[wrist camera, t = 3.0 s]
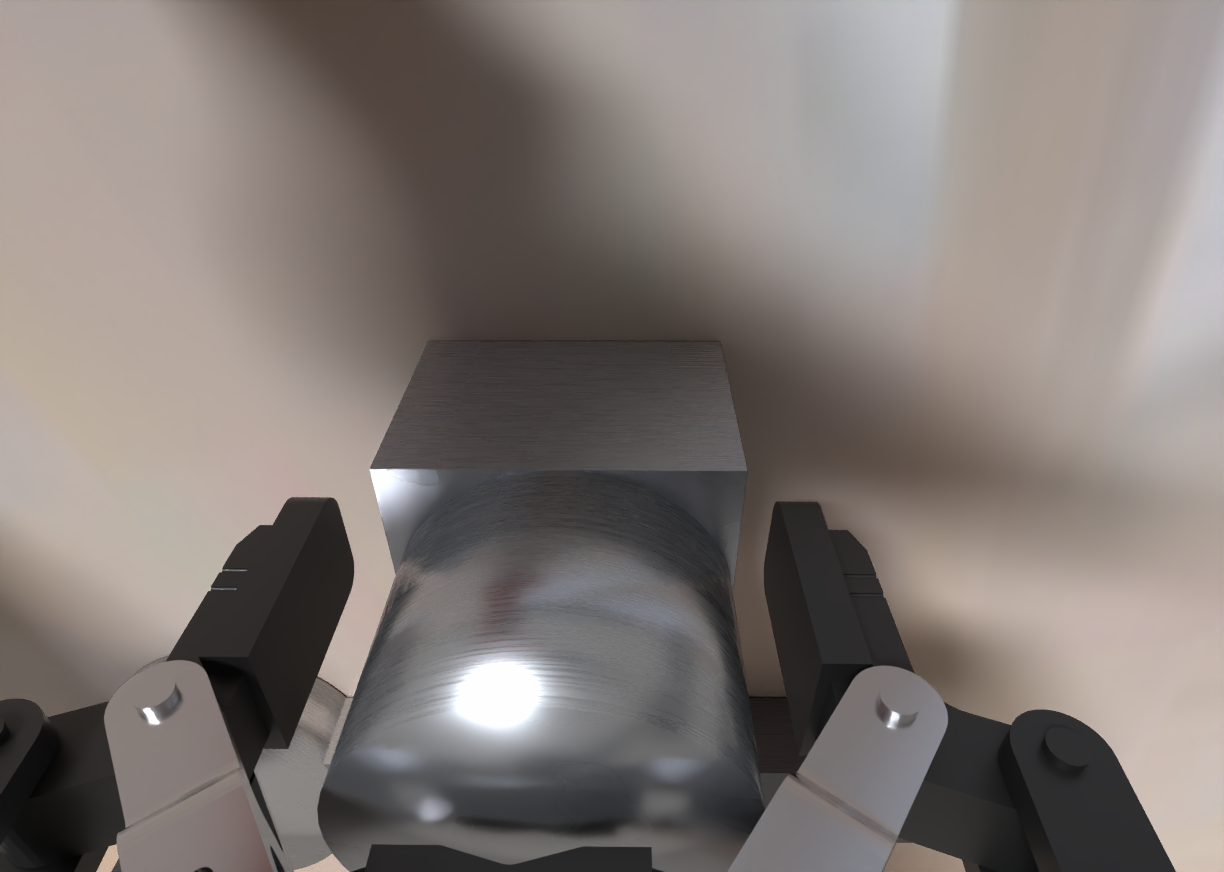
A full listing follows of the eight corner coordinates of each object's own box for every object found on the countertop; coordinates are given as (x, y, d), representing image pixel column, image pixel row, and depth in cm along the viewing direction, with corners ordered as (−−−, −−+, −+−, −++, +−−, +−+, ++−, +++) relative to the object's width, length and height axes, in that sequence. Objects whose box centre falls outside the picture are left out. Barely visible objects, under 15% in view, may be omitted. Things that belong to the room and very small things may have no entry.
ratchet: (930, 657, 19) (1031, 909, 15) (877, 799, 24) (942, 1033, 19) (83, 648, 20) (-95, 891, 15) (174, 789, 24) (57, 1016, 19)
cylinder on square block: (720, 341, 14) (798, 709, 8) (701, 553, 17) (745, 939, 11) (428, 341, 14) (261, 704, 8) (464, 552, 18) (367, 932, 11)
